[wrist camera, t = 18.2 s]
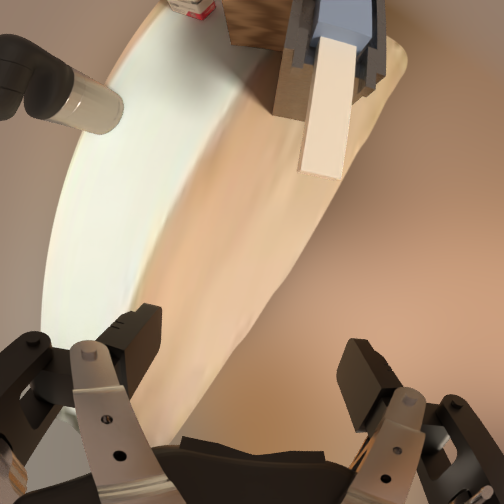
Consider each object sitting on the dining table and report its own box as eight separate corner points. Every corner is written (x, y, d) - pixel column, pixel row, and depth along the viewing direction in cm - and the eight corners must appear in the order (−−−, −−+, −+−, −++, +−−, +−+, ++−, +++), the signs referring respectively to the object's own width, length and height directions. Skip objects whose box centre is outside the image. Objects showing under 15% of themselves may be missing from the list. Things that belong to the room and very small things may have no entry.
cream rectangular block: (289, 170, 25) (297, 164, 19) (315, -2, 20) (324, -31, 14) (340, 182, 25) (361, 180, 19) (357, 10, 20) (373, -17, 14)
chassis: (270, 125, 44) (280, 64, 20) (283, 55, 41) (298, -30, 17) (325, 137, 44) (384, 93, 20) (335, 67, 41) (384, -6, 17)
